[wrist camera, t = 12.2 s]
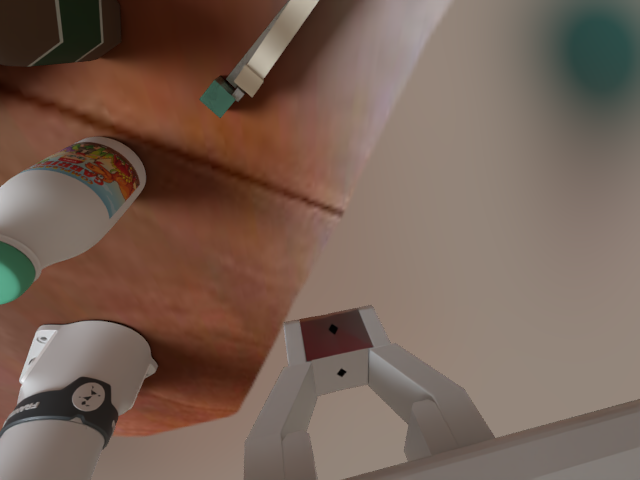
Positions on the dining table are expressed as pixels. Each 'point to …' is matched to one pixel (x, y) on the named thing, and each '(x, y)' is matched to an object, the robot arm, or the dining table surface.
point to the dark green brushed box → (221, 96)
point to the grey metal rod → (251, 51)
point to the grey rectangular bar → (274, 45)
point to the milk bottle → (63, 208)
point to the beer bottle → (57, 31)
